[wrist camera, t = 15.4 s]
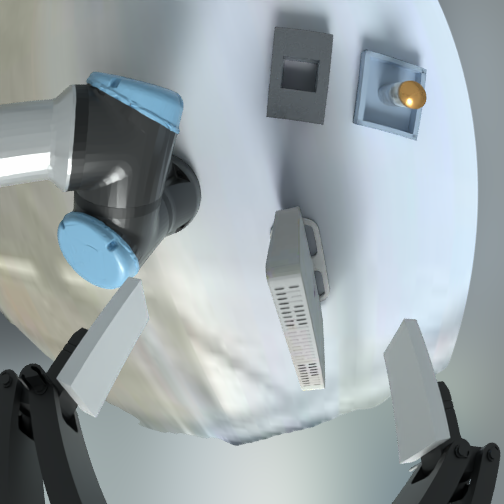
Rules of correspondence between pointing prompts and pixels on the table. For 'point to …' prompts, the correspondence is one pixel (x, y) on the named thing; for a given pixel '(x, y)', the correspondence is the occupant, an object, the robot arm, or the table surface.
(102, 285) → the robot arm
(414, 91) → the steel pin
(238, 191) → the table surface
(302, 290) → the network device
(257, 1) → the table surface
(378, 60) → the tray
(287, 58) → the grey socket block
